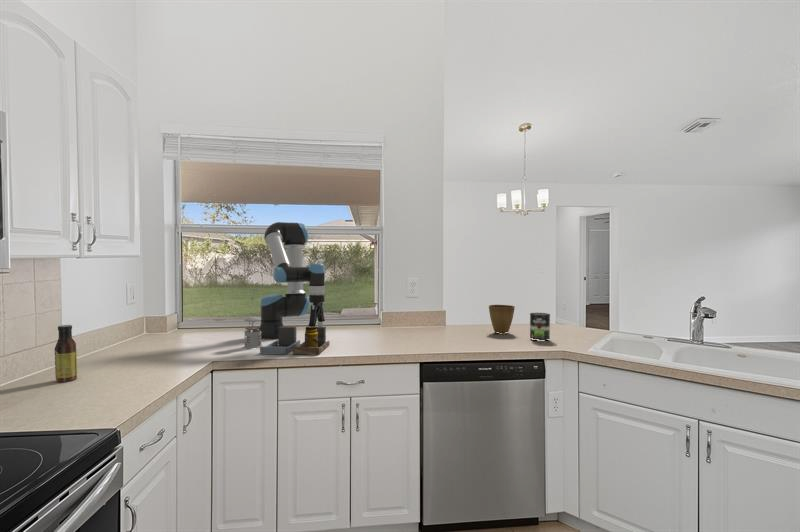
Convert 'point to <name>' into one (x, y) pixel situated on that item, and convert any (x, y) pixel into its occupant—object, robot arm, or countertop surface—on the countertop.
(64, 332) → the sauce bottle
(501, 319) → the plant pot
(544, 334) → the coffee can
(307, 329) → the condiment
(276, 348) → the grey frame
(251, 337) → the french press
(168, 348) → the countertop surface
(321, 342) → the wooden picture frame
